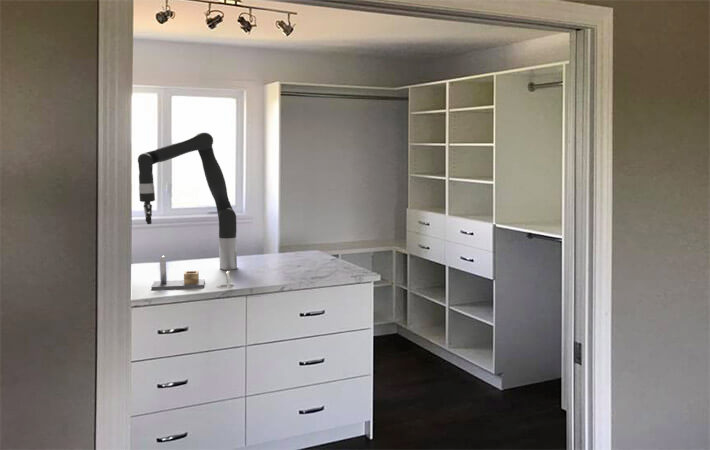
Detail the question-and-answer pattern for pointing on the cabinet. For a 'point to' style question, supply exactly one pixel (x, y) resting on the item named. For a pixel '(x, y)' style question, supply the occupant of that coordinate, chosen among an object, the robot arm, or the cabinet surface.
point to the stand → (227, 282)
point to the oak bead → (191, 277)
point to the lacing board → (176, 285)
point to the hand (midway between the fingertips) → (148, 223)
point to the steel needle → (163, 270)
